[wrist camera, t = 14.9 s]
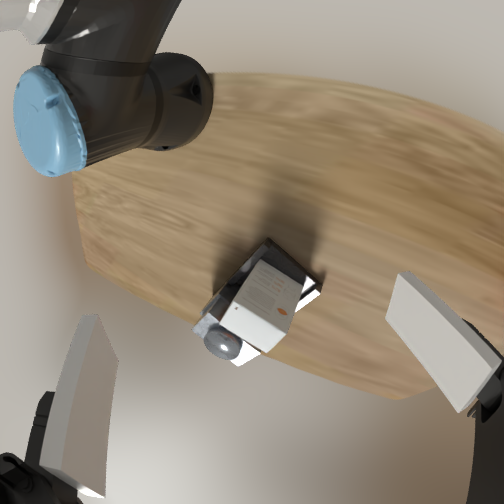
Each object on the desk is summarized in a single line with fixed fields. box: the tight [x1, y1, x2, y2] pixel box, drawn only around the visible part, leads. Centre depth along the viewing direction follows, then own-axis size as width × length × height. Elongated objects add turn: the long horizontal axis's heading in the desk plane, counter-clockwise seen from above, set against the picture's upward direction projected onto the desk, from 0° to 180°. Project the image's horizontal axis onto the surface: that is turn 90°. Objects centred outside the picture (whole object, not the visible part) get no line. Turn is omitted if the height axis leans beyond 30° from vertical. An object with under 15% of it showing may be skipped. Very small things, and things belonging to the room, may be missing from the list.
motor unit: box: [192, 237, 323, 366], centre depth 43 cm, size 11×18×10 cm, turn 144°
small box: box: [219, 259, 304, 353], centre depth 40 cm, size 8×6×10 cm
